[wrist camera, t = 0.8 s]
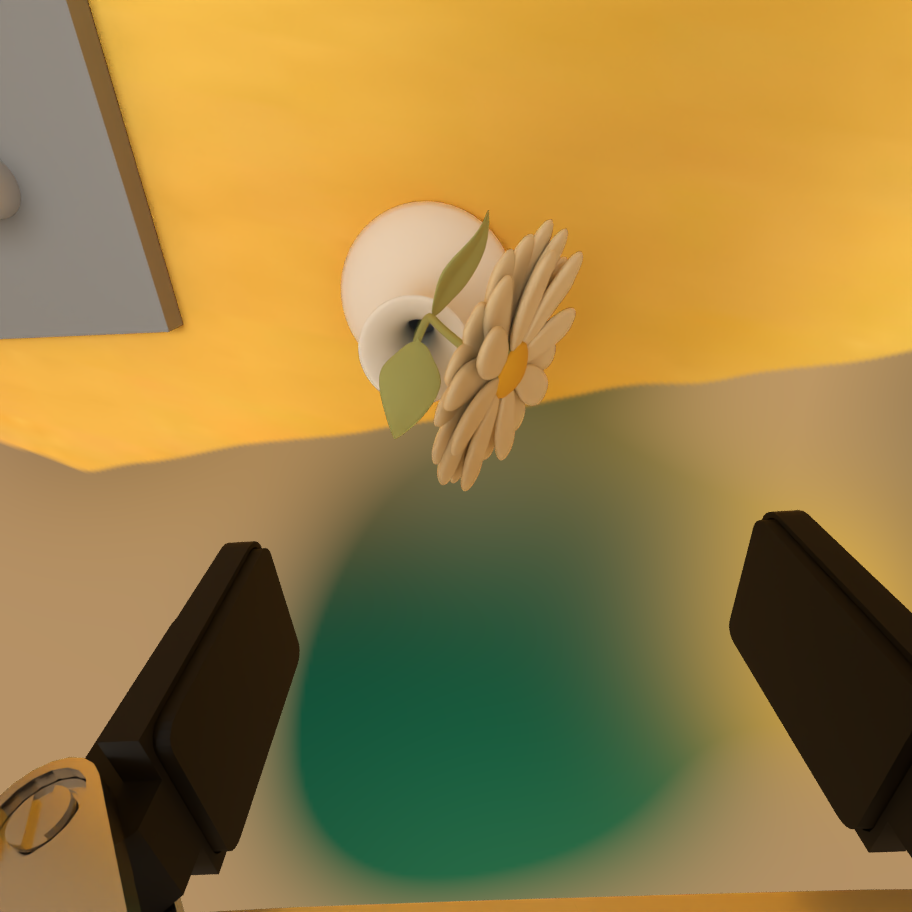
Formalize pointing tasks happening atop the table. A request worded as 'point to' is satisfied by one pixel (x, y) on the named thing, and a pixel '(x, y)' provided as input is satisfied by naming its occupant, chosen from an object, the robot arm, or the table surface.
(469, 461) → the flower in vase
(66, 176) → the piston stand
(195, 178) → the table surface
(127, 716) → the robot arm
